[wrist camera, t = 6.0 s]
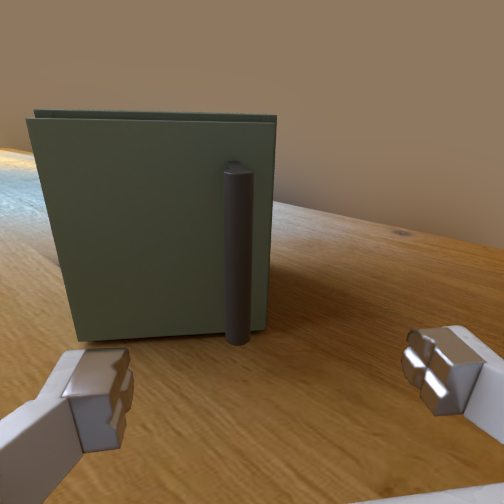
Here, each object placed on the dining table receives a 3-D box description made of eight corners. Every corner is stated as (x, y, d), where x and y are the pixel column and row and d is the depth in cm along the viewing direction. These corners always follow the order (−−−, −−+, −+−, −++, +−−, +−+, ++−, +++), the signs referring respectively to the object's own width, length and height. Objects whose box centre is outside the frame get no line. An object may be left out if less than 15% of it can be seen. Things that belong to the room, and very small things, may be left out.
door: (276, 370, 24) (292, 126, 17) (52, 388, 22) (-28, 120, 15) (263, 323, 29) (272, 122, 23) (82, 334, 27) (32, 117, 21)
